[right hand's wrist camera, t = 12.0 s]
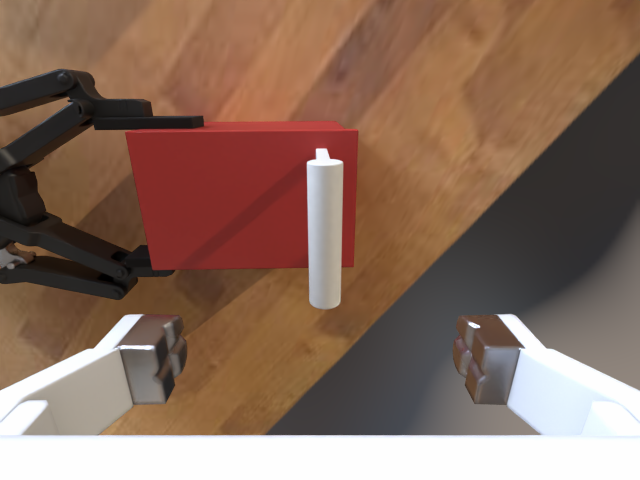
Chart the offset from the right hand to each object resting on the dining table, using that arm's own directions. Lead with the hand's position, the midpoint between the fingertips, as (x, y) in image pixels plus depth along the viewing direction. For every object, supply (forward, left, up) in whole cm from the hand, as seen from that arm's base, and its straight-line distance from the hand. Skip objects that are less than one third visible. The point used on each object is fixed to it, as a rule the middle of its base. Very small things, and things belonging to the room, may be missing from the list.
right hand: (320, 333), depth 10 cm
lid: (-2, -4, -15) cm, 16 cm away
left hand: (-3, -7, -18) cm, 19 cm away
